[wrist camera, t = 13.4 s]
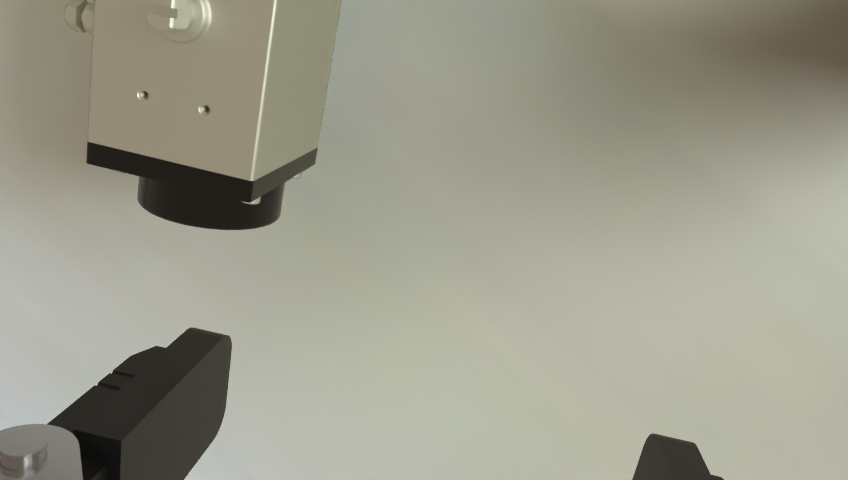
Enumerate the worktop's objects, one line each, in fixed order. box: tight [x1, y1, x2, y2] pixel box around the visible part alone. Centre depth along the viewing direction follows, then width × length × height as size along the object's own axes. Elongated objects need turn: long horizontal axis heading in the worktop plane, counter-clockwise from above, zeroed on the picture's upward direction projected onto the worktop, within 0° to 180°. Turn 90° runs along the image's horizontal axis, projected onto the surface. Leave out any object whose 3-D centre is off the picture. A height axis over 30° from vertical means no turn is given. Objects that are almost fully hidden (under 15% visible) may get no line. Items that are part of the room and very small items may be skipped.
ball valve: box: [65, 0, 341, 230], centre depth 31 cm, size 18×8×18 cm, turn 168°
